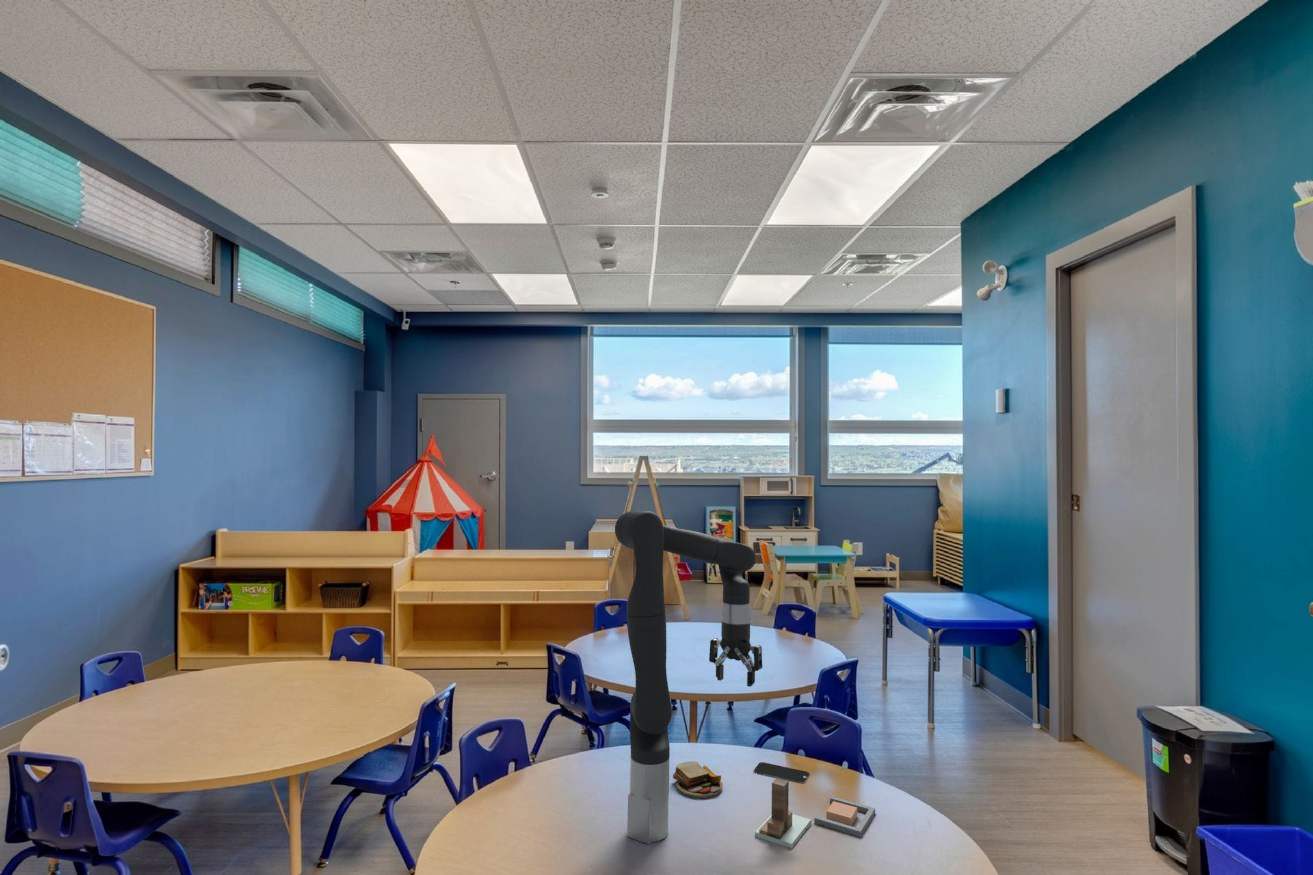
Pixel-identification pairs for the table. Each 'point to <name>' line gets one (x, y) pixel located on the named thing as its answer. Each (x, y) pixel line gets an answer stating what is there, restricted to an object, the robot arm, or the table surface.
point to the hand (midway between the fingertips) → (735, 682)
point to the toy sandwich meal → (697, 780)
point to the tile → (841, 813)
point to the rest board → (788, 831)
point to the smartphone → (781, 772)
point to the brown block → (778, 811)
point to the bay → (847, 828)
